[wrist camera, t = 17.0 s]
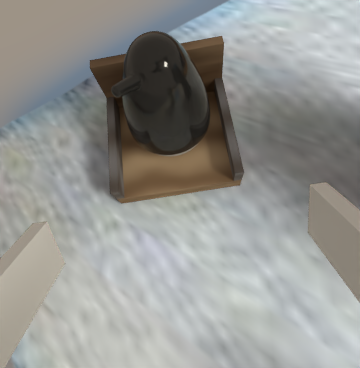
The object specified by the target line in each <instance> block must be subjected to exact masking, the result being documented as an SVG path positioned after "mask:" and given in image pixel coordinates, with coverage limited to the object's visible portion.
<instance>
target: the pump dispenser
mask: <svg viewBox="0 0 360 368" xmlns="http://www.w3.org/2000/svg"><path fill="white" fill-rule="evenodd" d="M111 91H112V94H113V95H114V96H115V97H117V98H119V97H122V102H123V109H124V114H125V118H126V121H127V125H128V128H129V130H130V133H131V135H132V136H133V138H134V140H135V141H136V142H137V143H138V144H139V145H140V146H141V147H142V148H144V149H145V150H147V151H149V152H151V153H154V154H157V155H161V156H178V155H181V154H184V153H186V152H188V151H190V150H191V149H193V148H194V147H195V146H196V145H197V144H198V143H199V142H200V141H201V140H202V139H203V137H204V136H205V134H206V132H207V130H208V128H209V124H210V105H209V100H208V96H207V92H206V88H205V85H204V82H203V80H202V77H201V75H200V73H199V71H198V69H197V67H196V65H195V63H194V62H193V60H192V58H191V57H190V55H189V54H188V53H187V51H186V50H185V49H184V47H183V46H182V45H181V44H180V43H179V42H178V41H177V40H175V39H174V38H173V37H172V36H170V35H168V34H166V33H163V32H159V31H152V32H147V33H144V34H142V35H140V36H138V37H137V38H136V39H135V40H134V41H133V42H132V43H131V45H130V47H129V49H128V51H127V53H126V56H125V59H124V63H123V69H122V80H121V81H119V82H118V83H116V84H115V85H113V86H112V88H111Z"/></svg>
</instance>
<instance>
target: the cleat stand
mask: <svg viewBox="0 0 360 368" xmlns="http://www.w3.org/2000/svg"><path fill="white" fill-rule="evenodd" d="M181 45H182V46H183V47H184V49H185V50H186V51H187V53H188V54H189V55H190V57H191V58H192V60H193V62H194V63H195V65H196V67H197V69H198V71H199V73H200V75H201V77H202V80H203V82H204V85H205V88H206V92H207V96H208V100H209V105H210V124H209V128H208V130H207V132H206V134H205V136H204V137H203V139H202V140H201V141H200V142H199V143H198V144H197V145H196V146H195V147H194V148H193V149H191V150H190V151H188V152H186V153H184V154H181V155H178V156H161V155H157V154H154V153H151V152H149V151H147V150H145V149H144V148H142V147H141V146H140V145H139V144H138V143H137V142H136V141H135V140H134V138H133V136H132V135H131V133H130V130H129V128H128V125H127V121H126V118H125V114H124V109H123V102H122V97H119V98H117V97H115V96H114V95H113V94H112V91H111V88H112V86H113V85H115V84H116V83H118V82H119V81H121V80H122V69H123V63H124V59H125V56H126V54H123V55H117V56H111V57H106V58H101V59H95V60H90V69H91V71H92V73H93V75H94V76H95V78H96V80H97V82H98V84H99V85H100V87H101V89H102V91H103V92H104V94H105V96H106V98H107V123H108V149H109V175H110V193H111V194H112V195H113V196H114V197H115V198H116V199H117V200H118V201H120V202H121V203H128V202H134V201H141V200H147V199H154V198H160V197H166V196H173V195H179V194H186V193H192V192H198V191H205V190H211V189H218V188H224V187H231V186H237V185H240V183H241V180H242V176H243V173H244V170H243V166H242V162H241V157H240V153H239V149H238V145H237V140H236V136H235V132H234V127H233V123H232V119H231V114H230V110H229V106H228V102H227V97H226V93H225V89H224V84H223V80H222V67H223V50H224V42H223V38H222V36H219V37H213V38H208V39H203V40H197V41H192V42H187V43H181Z"/></svg>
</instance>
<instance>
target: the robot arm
mask: <svg viewBox="0 0 360 368" xmlns="http://www.w3.org/2000/svg"><path fill="white" fill-rule="evenodd" d="M308 233H309V235H310V236H311V237H312V239H313V240H314V241H315V243H316V244H317V245H318V247H319V248H320V249H321V251H322V252H323V254H324V255H325V256H326V258H327V259H328V260H329V262H330V263H331V264H332V266H333V267H334V268H335V270H336V271H337V272H338V274H339V275H340V277H341V278H342V279H343V281H344V282H345V283H346V285H347V286H348V287H349V289H350V290H351V291H352V293H353V294H354V296H355V297H356V298H357V300H358V301H359V302H360V210H359V209H358V208H357V207H356V206H354V205H353V204H352V203H351V202H350V201H348V200H347V199H346V198H345V197H344V196H342V195H341V194H340V193H339V192H338V191H336V190H335V189H334V188H333V187H332V186H330V185H329V184H328V183H327V182H324V183H317V184H310V193H309V218H308ZM64 265H65V262H64V260H63V257H62V255H61V253H60V250H59V248H58V246H57V243H56V241H55V239H54V236H53V234H52V232H51V230H50V227H49V225H48V223H47V222H40V223H33V224H32V225H31V226H30V227H29V228H28V229H27V230H26V231H25V233H24V234H23V235H22V236H21V237H20V238H19V239H18V240H17V241H16V242H15V243H14V244H13V246H12V247H11V248H10V249H9V250H8V251H7V252H6V253H5V254H4V255H3V256H2V257H1V258H0V368H5V366H6V364H7V363H8V361H9V359H10V358H11V356H12V354H13V352H14V351H15V349H16V347H17V346H18V344H19V342H20V340H21V339H22V337H23V335H24V334H25V332H26V330H27V328H28V327H29V325H30V323H31V321H32V320H33V318H34V316H35V315H36V313H37V311H38V309H39V308H40V306H41V304H42V303H43V301H44V299H45V297H46V296H47V294H48V292H49V291H50V289H51V287H52V285H53V284H54V282H55V280H56V279H57V277H58V275H59V273H60V272H61V270H62V268H63V266H64Z"/></svg>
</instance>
